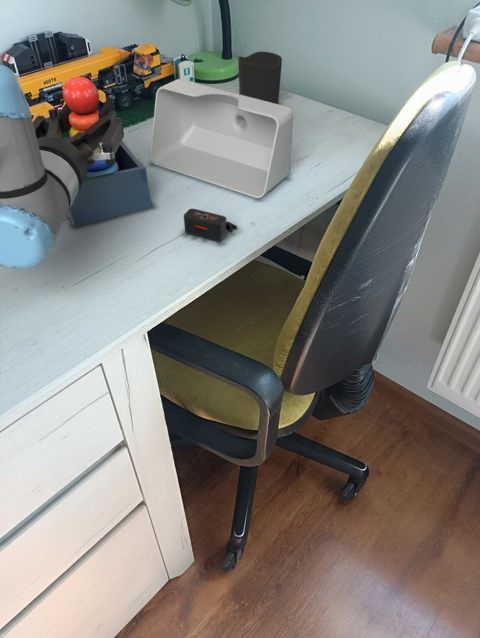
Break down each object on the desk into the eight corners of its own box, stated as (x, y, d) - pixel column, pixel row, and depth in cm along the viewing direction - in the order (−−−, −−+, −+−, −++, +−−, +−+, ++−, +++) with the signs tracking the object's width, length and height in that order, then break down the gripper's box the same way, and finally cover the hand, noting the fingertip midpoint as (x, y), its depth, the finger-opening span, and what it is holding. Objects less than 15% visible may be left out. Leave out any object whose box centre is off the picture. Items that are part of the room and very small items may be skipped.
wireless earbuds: (225, 245, 79) (224, 227, 76) (183, 234, 80) (181, 216, 78) (237, 230, 82) (237, 212, 79) (197, 220, 83) (196, 202, 81)
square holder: (54, 190, 89) (43, 151, 84) (126, 174, 93) (119, 136, 88) (74, 227, 81) (63, 185, 76) (151, 207, 86) (146, 167, 81)
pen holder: (280, 115, 114) (282, 65, 107) (238, 114, 114) (237, 64, 107) (278, 99, 121) (281, 51, 114) (238, 98, 120) (238, 50, 113)
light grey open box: (306, 164, 98) (312, 95, 89) (263, 200, 88) (265, 127, 79) (199, 133, 106) (195, 67, 98) (149, 162, 97) (140, 92, 88)
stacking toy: (135, 199, 87) (116, 80, 74) (93, 215, 83) (65, 93, 70) (110, 181, 91) (88, 65, 78) (68, 196, 87) (38, 76, 74)
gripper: (-12, 201, 68) (42, 128, 84) (126, 205, 68) (153, 131, 84) (-34, 146, 62) (28, 78, 79) (116, 150, 63) (147, 82, 79)
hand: (93, 106), depth 81 cm, fingers closed on stacking toy, 5 cm apart
